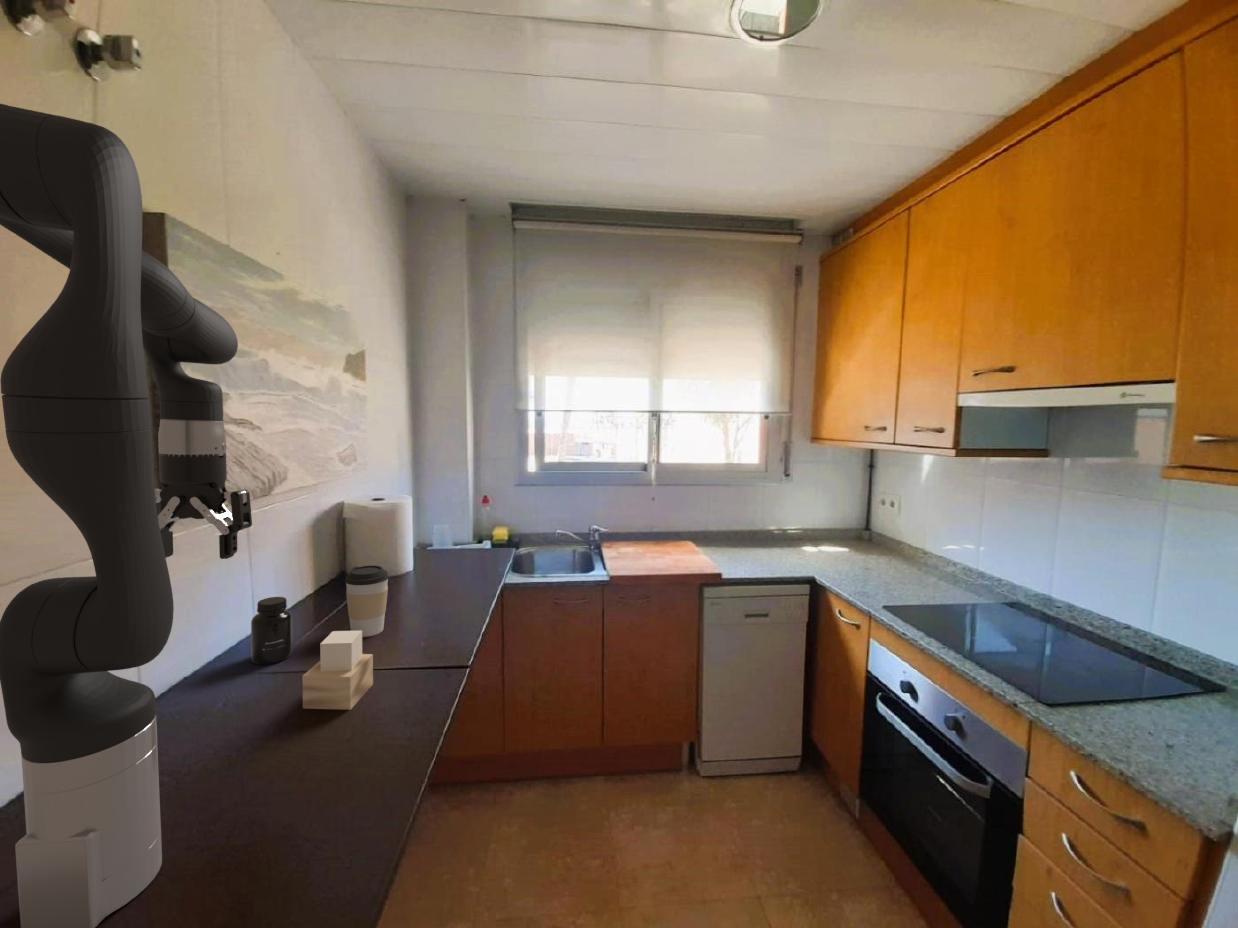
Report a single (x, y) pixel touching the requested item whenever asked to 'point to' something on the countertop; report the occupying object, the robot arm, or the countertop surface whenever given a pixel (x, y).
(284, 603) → the supplement bottle
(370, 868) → the countertop surface
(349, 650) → the cream cube
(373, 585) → the coffee cup
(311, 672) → the oak block
